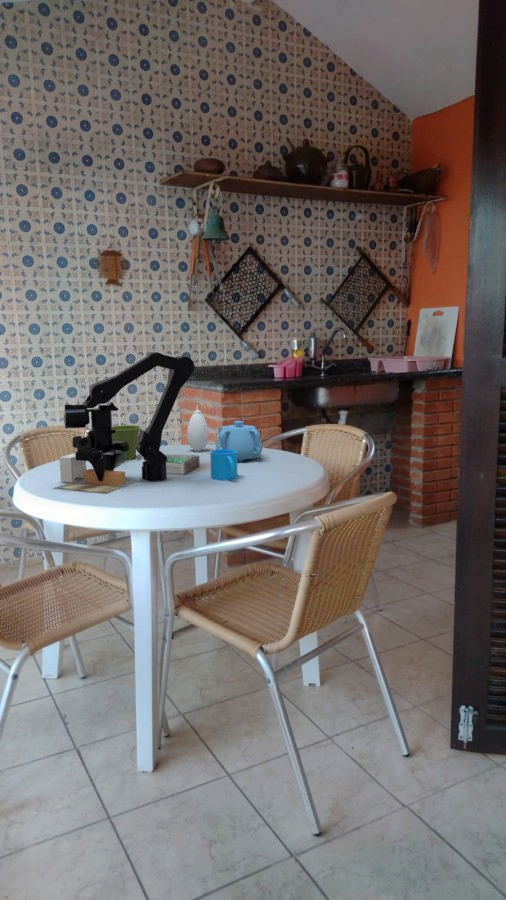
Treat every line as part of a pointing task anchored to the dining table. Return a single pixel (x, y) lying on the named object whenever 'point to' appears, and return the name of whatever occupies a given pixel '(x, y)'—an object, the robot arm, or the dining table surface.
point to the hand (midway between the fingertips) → (104, 479)
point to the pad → (89, 488)
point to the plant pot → (127, 437)
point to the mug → (223, 464)
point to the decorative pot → (240, 440)
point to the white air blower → (197, 431)
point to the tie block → (71, 468)
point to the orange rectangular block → (105, 477)
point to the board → (81, 481)
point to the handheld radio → (121, 457)
